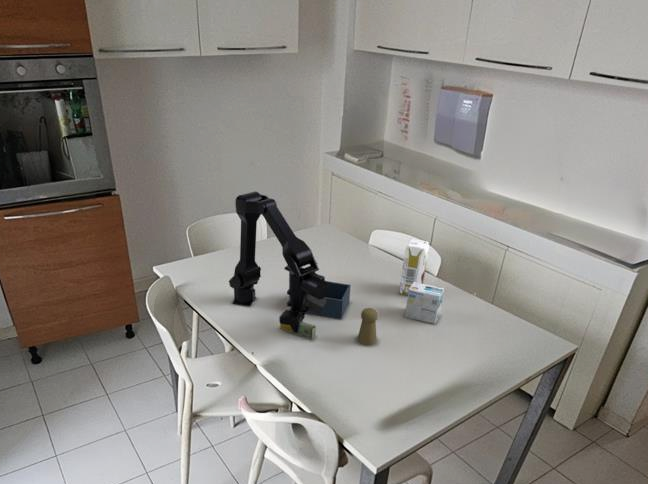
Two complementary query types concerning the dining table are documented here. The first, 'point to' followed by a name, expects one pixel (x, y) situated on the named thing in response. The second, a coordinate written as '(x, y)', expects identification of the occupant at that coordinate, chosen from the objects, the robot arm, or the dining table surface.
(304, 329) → the medication box
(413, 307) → the light bulb box
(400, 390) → the dining table surface
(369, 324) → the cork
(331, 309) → the dark blue open bin
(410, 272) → the juice carton
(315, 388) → the dining table surface
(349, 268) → the dining table surface
